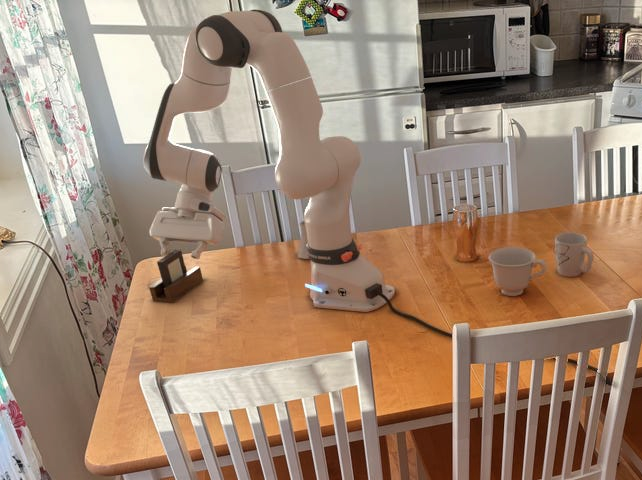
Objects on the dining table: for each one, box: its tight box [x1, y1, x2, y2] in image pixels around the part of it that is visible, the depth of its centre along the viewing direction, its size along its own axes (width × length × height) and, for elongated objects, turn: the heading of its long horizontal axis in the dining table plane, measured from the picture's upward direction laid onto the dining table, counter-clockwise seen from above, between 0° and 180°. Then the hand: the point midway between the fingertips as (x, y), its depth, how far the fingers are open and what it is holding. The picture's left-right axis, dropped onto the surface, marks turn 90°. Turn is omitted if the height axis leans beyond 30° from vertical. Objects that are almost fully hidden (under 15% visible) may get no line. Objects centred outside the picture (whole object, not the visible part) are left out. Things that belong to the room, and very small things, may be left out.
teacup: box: [488, 246, 547, 297], centre depth 187 cm, size 12×15×10 cm
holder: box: [149, 265, 204, 304], centre depth 195 cm, size 14×6×4 cm, turn 165°
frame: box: [156, 249, 188, 288], centre depth 193 cm, size 8×2×9 cm, turn 165°
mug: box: [554, 231, 594, 278], centre depth 195 cm, size 11×8×10 cm
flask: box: [297, 220, 310, 260], centre depth 211 cm, size 7×7×10 cm
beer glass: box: [452, 203, 479, 263], centre depth 205 cm, size 7×7×15 cm
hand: (179, 256), depth 194 cm, fingers open, 8 cm apart
